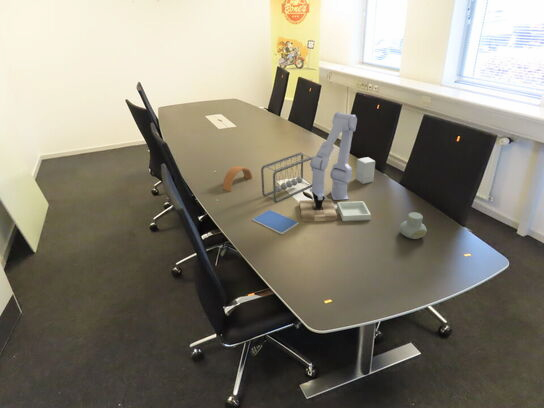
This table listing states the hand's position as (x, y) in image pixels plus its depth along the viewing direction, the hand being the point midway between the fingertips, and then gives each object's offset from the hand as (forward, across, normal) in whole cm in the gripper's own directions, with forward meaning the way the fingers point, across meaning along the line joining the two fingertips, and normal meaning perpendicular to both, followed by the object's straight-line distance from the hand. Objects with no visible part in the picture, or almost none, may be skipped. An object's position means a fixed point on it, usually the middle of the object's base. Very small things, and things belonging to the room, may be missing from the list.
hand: (317, 206), depth 173 cm
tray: (+3, +3, +17) cm, 18 cm away
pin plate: (+3, 0, 0) cm, 3 cm away
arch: (+4, -36, -40) cm, 54 cm away
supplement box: (+4, -33, +32) cm, 46 cm away
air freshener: (+4, +23, +38) cm, 45 cm away
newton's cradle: (+4, -24, -12) cm, 27 cm away
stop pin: (+3, 0, 0) cm, 3 cm away
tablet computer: (+4, +7, -21) cm, 22 cm away
